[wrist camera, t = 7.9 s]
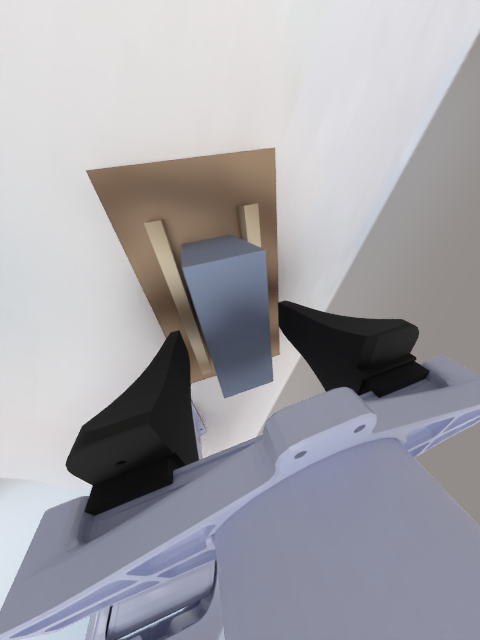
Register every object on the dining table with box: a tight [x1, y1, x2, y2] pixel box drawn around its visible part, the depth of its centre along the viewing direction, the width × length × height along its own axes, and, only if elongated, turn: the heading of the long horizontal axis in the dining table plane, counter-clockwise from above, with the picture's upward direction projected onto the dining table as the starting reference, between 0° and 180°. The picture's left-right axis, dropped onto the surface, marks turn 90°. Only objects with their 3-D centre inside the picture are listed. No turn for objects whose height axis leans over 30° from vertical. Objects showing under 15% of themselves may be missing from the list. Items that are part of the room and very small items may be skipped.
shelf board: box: [86, 148, 280, 383], centre depth 17 cm, size 20×12×4 cm, turn 8°
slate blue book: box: [181, 234, 273, 398], centre depth 14 cm, size 10×4×7 cm, turn 8°
